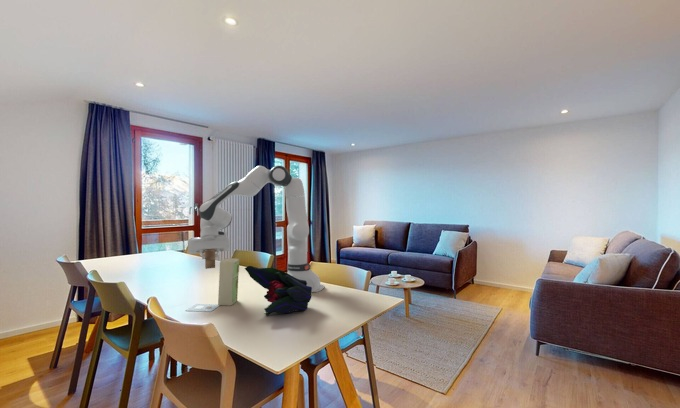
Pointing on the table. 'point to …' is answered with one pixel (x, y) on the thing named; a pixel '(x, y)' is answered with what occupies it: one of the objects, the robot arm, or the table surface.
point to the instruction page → (203, 307)
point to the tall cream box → (228, 281)
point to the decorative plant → (281, 290)
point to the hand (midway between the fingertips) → (210, 258)
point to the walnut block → (210, 258)
